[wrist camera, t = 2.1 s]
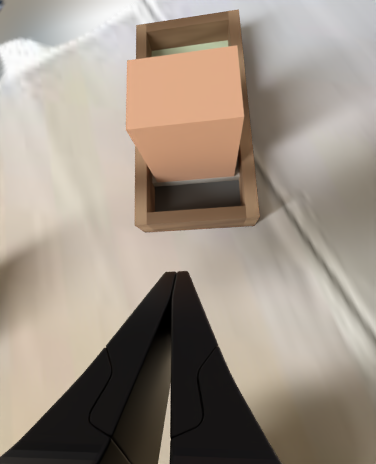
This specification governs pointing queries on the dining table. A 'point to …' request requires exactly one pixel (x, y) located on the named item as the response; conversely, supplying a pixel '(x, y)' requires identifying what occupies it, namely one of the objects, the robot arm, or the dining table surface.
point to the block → (186, 113)
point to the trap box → (200, 190)
